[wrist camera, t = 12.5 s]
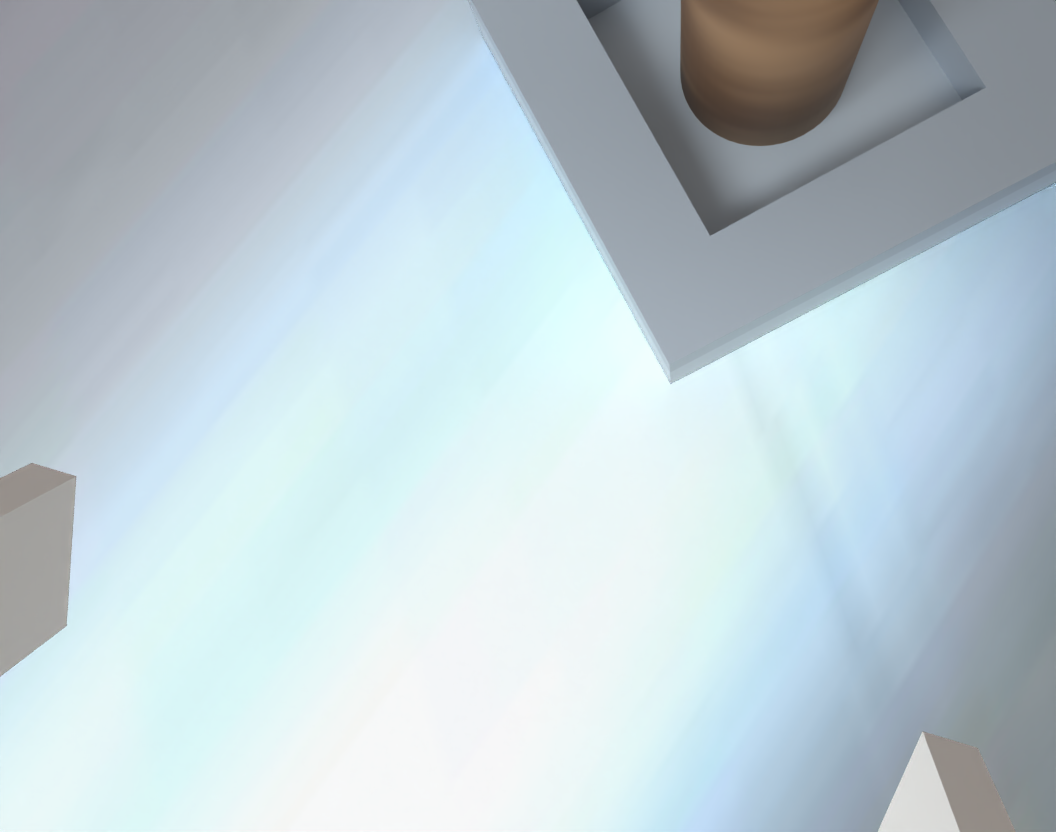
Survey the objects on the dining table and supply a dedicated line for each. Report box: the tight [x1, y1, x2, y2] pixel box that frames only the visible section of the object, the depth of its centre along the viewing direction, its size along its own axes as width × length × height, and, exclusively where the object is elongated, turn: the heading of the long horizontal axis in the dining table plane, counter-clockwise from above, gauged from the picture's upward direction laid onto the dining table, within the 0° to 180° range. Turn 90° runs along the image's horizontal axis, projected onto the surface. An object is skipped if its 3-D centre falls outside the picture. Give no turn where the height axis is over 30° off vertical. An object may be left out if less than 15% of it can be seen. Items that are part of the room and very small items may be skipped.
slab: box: [468, 0, 1056, 384], centre depth 28 cm, size 14×14×4 cm
